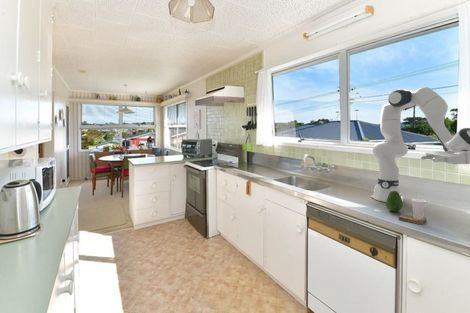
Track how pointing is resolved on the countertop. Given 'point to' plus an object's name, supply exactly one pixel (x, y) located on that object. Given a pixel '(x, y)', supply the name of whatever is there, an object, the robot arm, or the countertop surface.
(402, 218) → the coaster board
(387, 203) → the avocado
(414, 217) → the smoothie
